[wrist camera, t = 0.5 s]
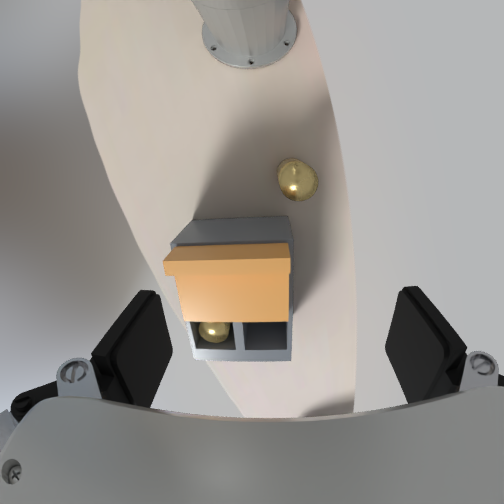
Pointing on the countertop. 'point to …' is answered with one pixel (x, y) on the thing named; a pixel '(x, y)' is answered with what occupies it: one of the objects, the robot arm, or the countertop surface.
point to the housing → (242, 333)
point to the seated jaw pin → (214, 331)
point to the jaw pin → (297, 179)
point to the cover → (232, 282)
